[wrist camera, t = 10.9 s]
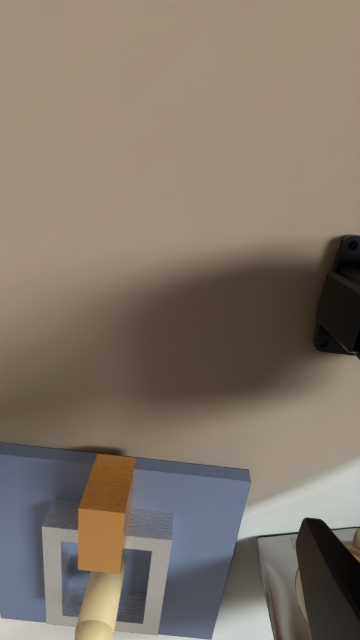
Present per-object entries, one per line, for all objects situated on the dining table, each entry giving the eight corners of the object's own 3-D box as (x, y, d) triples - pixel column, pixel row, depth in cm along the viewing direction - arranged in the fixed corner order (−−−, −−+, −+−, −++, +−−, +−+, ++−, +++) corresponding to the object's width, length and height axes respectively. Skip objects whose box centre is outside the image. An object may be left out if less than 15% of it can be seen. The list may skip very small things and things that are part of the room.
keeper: (248, 469, 23) (270, 573, 17) (210, 625, 29) (216, 742, 23) (-13, 441, 23) (-90, 535, 16) (7, 604, 29) (-43, 716, 23)
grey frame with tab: (159, 604, 27) (155, 670, 23) (56, 593, 27) (35, 658, 23) (181, 463, 22) (179, 519, 18) (52, 448, 22) (23, 502, 18)
